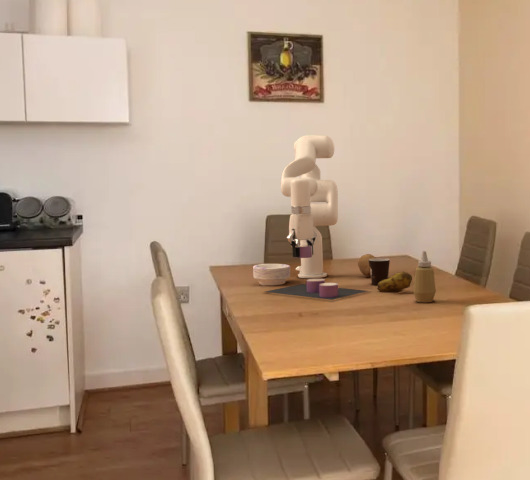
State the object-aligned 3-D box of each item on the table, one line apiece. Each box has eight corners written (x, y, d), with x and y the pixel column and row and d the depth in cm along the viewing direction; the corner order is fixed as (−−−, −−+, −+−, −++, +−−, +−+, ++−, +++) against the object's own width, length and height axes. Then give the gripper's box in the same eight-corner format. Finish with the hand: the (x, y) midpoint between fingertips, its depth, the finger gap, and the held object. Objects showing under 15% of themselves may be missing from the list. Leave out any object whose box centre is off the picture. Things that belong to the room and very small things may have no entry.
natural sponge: (369, 274, 343) (369, 252, 341) (383, 276, 337) (383, 253, 335) (354, 277, 337) (353, 254, 335) (368, 279, 331) (367, 255, 328)
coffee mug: (387, 285, 312) (387, 261, 310) (367, 285, 314) (366, 260, 312) (393, 281, 323) (393, 257, 321) (373, 281, 325) (373, 257, 323)
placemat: (264, 293, 300) (264, 291, 299) (302, 285, 317) (302, 283, 317) (331, 301, 280) (331, 299, 280) (368, 292, 298) (368, 290, 298)
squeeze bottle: (421, 298, 283) (420, 249, 279) (440, 300, 278) (440, 250, 274) (409, 302, 276) (408, 251, 272) (428, 304, 272) (427, 253, 268)
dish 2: (315, 296, 287) (314, 284, 286) (327, 293, 293) (327, 282, 292) (330, 298, 283) (329, 286, 282) (342, 295, 289) (342, 283, 288)
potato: (382, 290, 303) (382, 269, 301) (414, 291, 299) (414, 270, 297) (375, 293, 295) (375, 272, 293) (408, 295, 291) (407, 273, 289)
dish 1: (290, 257, 306) (289, 246, 305) (302, 255, 311) (302, 244, 310) (303, 258, 301) (303, 247, 300) (316, 256, 307) (315, 245, 306)
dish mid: (302, 291, 298) (302, 280, 297) (315, 289, 303) (314, 277, 302) (317, 293, 294) (316, 281, 293) (329, 290, 299) (328, 279, 298)
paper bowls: (298, 284, 320) (297, 264, 318) (269, 288, 309) (268, 269, 308) (275, 280, 330) (274, 262, 328) (246, 285, 319) (245, 265, 318)
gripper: (308, 209, 311) (310, 253, 315) (278, 212, 297) (280, 258, 302) (323, 209, 307) (324, 254, 311) (293, 212, 293) (295, 259, 297)
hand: (303, 255), depth 306 cm, fingers closed on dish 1, 7 cm apart
